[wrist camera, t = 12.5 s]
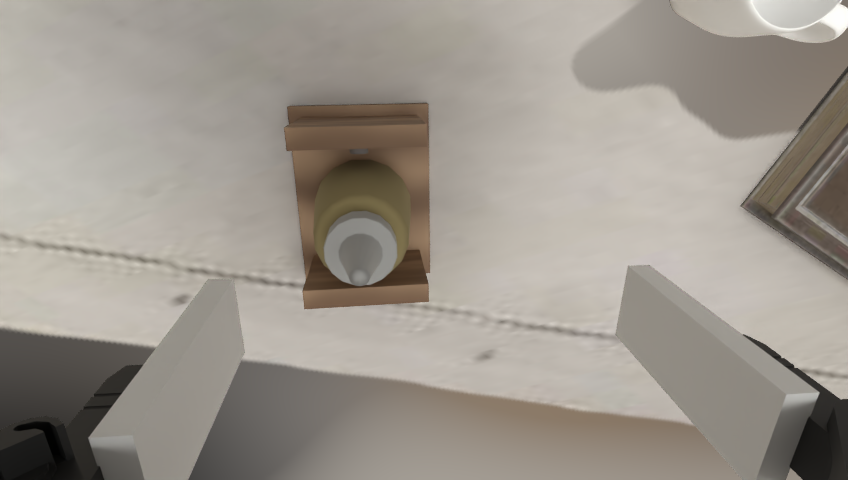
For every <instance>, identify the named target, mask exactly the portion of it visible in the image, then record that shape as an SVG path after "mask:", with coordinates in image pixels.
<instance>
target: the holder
mask: <svg viewBox="0 0 848 480" xmlns="http://www.w3.org/2000/svg"><path fill="white" fill-rule="evenodd" d="M287 109H288V119H289V125H288V126H286V127H285V128H284V132H285V140H286V149H287V151H292V155H293V164H294V174H295V183H296V192H297V201H298V210H299V219H300V229H301V238H302V247H303V256H304V265H305V274H306V282H305V285H304V288H303V300H304V309H315V308H332V307H349V306H365V305H382V304H399V303H415V302H429V286H428V280H427V276H426V273H430V225H429V121H428V104H427V103H411V104H361V105H312V106H288V107H287ZM369 159H371V160H373V161H376V162H379V163H381V164H384V165H387V166H389V167H390V168H391V169H392V170H393V171H395V172H396V173H397V174H398V175H399V176H400V177H401V178H402V179H403V181H404V183H405V185H406V187H407V190H408V192H409V194H410V201H411V218H410V232H409V245H408V248H407V250H406V253H405V255H404V258H403V260H402V262H401V263H400V264H399V265H398V266H397V267H396V268H395V269H394V270H393V271H392V272H391V273H390V274H388V275H387V276H386V277H385V278H384V279H382V280H380V281H378V282H375V283H373V284H371V285H363V286H355V285H352V284H349V283H346V282H342V281H341V280H340V279H339V278H337V277H336V276H335V275H333V274H332V273H331V271H330V270H329V269H328V268H327V267H325V266H324V265H323V263H322V261H321V260H320V258H319V256H318V254H317V252H316V251H315V245H314V234H313V228H314V208H315V198H316V195H317V192H318V189H319V186H320V183H321V181H322V180H323V179H324V178H325V177H326V176H327V175H328V174H329V172H330V171H331V170H332V169H333V168H335V167H337V166H339V165H341V164H343V163H346V162H348V161H350V160H369Z"/></svg>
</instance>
